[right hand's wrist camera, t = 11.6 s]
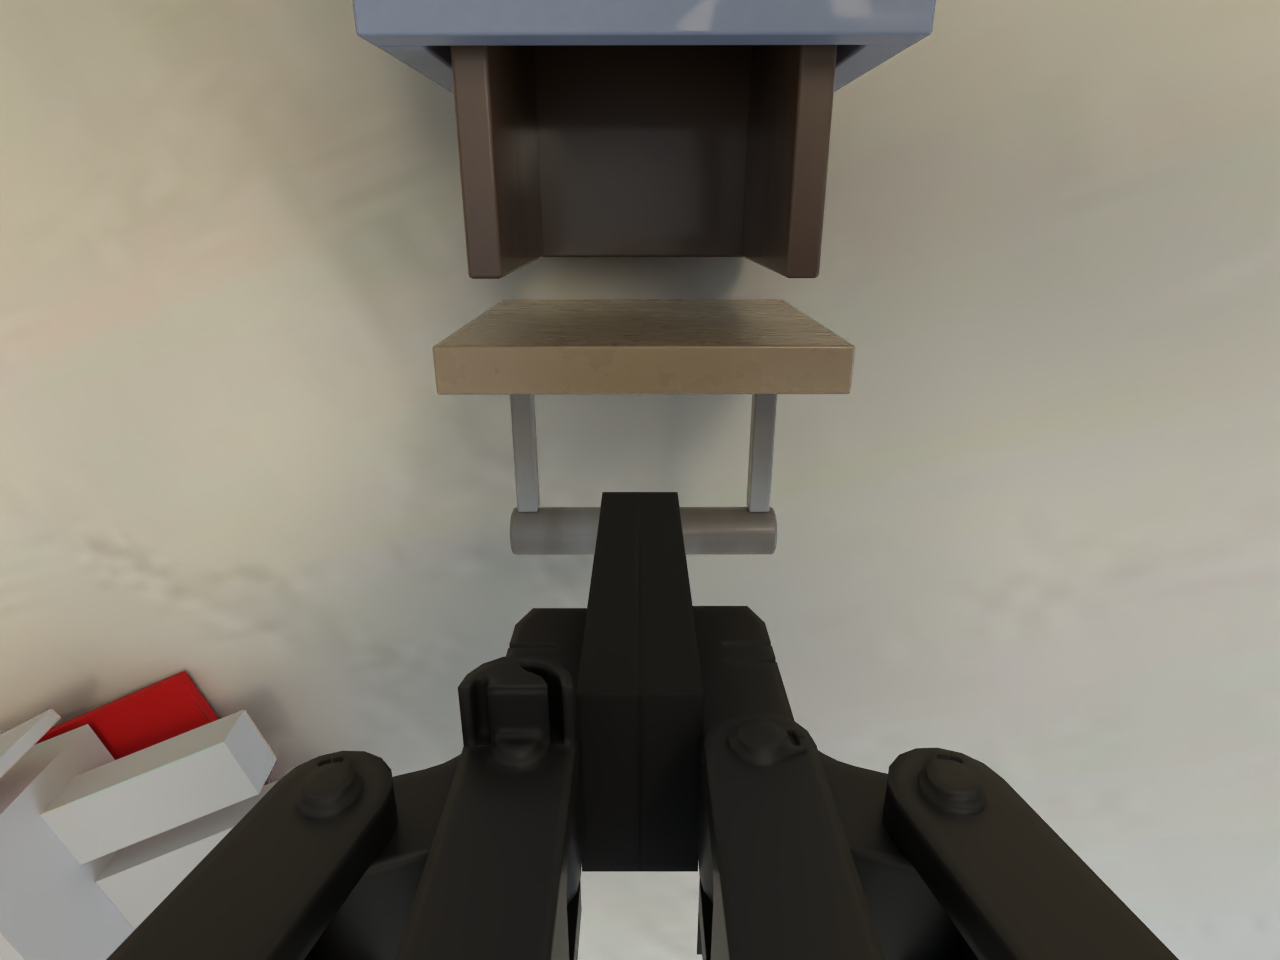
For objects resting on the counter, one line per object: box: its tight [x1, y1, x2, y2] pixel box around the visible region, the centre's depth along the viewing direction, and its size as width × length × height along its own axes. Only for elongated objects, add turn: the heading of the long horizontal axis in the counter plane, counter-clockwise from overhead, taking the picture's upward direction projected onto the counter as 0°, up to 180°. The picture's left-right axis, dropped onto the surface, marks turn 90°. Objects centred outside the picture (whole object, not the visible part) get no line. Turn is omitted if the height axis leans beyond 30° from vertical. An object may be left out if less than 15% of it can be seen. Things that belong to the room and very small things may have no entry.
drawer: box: [433, 45, 855, 555], centre depth 20 cm, size 24×10×10 cm, turn 0°
